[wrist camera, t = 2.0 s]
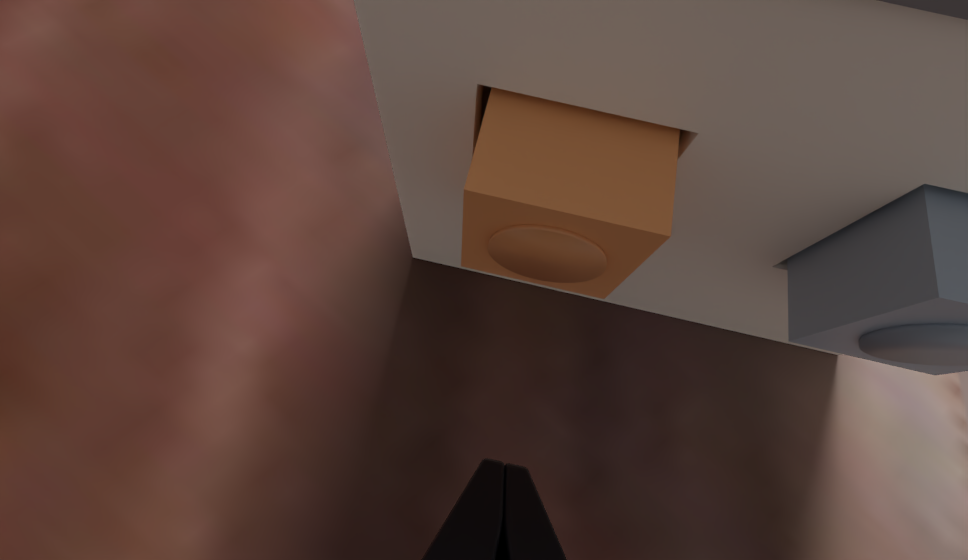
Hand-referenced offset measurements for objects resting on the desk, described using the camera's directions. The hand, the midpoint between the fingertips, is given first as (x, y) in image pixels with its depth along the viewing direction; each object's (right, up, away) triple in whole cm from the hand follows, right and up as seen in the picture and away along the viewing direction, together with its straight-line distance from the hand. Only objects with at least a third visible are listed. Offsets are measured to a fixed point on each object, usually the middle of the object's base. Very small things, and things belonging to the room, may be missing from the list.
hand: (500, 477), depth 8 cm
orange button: (+2, +5, +6) cm, 8 cm away
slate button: (+11, +3, +5) cm, 13 cm away
